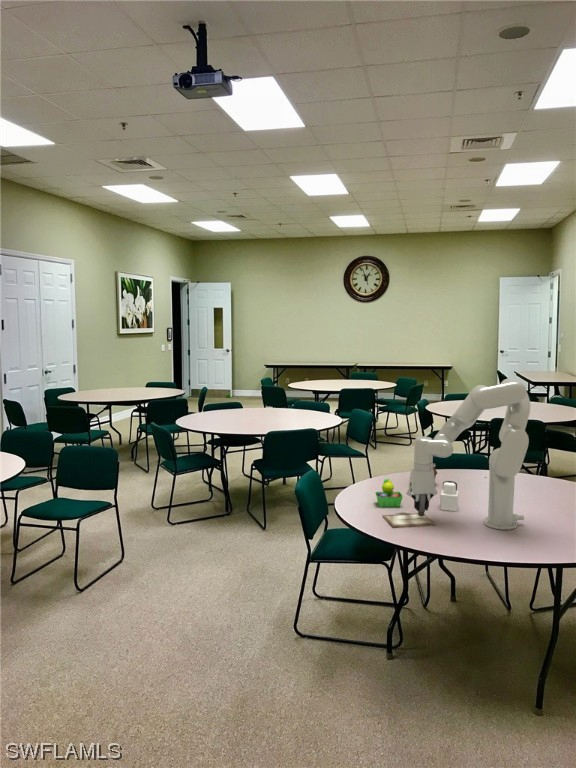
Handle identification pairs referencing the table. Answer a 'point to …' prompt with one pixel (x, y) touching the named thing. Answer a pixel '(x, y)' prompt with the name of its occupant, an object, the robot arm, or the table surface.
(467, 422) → the robot arm
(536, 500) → the table surface
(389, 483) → the fruit basket
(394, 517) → the clipboard
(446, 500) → the white handled container
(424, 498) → the marker
